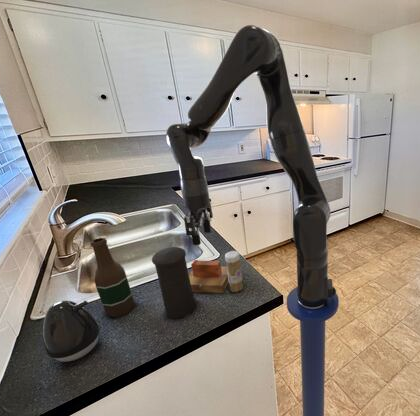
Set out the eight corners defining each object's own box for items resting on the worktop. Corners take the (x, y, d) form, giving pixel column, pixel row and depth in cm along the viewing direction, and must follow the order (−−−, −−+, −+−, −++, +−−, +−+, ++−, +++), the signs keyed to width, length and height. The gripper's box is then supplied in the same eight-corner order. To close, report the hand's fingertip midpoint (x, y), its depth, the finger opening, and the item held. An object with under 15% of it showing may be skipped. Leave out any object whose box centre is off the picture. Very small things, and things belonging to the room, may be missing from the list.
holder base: (234, 271, 100) (233, 264, 99) (222, 295, 88) (220, 287, 87) (197, 270, 101) (196, 263, 100) (180, 294, 89) (178, 286, 87)
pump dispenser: (96, 361, 66) (76, 312, 60) (43, 375, 62) (17, 325, 57) (110, 330, 74) (93, 285, 69) (64, 341, 71) (43, 294, 66)
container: (199, 297, 87) (188, 243, 80) (192, 317, 79) (180, 259, 71) (170, 300, 86) (157, 245, 78) (161, 321, 77) (145, 262, 70)
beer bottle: (130, 315, 80) (107, 244, 71) (100, 320, 78) (73, 248, 69) (139, 298, 87) (119, 232, 78) (112, 302, 85) (88, 235, 76)
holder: (221, 273, 94) (219, 260, 92) (219, 277, 92) (217, 264, 90) (196, 272, 95) (194, 259, 93) (193, 276, 92) (191, 263, 90)
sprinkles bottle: (238, 293, 88) (233, 258, 84) (226, 290, 90) (221, 256, 85) (246, 285, 92) (242, 251, 87) (234, 282, 94) (230, 249, 89)
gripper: (196, 199, 75) (205, 249, 81) (215, 184, 88) (221, 228, 94) (170, 198, 75) (180, 248, 81) (193, 184, 89) (200, 228, 95)
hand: (202, 238), depth 88 cm, fingers open, 8 cm apart
